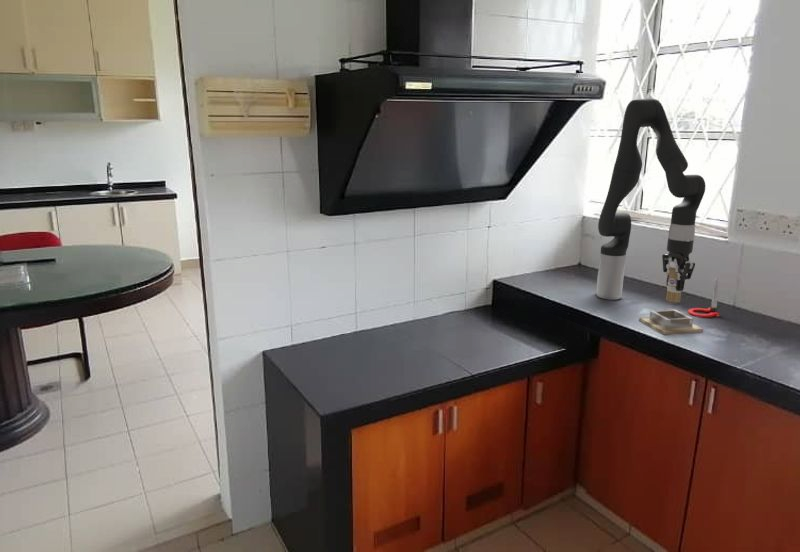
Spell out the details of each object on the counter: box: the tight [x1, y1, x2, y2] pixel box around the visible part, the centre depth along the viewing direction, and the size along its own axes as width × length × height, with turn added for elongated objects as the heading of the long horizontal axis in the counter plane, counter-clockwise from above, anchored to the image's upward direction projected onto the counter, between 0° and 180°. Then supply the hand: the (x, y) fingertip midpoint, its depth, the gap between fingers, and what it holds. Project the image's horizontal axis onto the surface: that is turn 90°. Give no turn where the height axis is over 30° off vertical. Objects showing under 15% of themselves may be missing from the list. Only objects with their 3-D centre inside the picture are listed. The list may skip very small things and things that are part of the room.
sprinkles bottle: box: [665, 261, 685, 303], centre depth 189 cm, size 5×5×13 cm
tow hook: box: [687, 278, 721, 318], centre depth 203 cm, size 8×13×9 cm
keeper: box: [638, 308, 704, 336], centre depth 192 cm, size 14×14×4 cm
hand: (674, 288), depth 189 cm, fingers closed on sprinkles bottle, 4 cm apart
